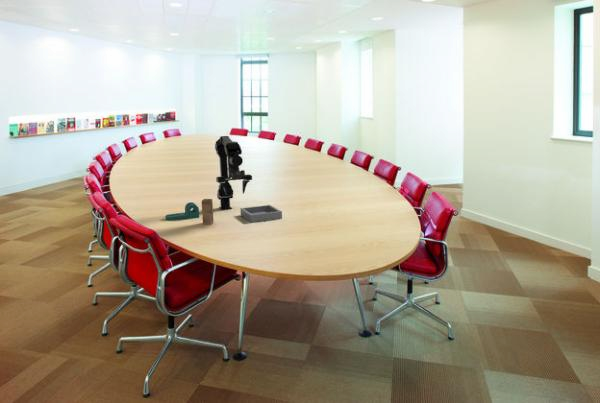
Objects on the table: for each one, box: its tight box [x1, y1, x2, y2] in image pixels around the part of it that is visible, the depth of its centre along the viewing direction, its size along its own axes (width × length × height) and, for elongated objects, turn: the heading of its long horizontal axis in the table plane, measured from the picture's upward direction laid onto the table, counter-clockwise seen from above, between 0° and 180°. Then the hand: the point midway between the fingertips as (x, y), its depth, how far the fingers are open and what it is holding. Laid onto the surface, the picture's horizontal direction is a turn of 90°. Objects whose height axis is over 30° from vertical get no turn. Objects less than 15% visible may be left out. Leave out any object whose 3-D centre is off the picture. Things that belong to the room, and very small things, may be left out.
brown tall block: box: [201, 198, 215, 226], centre depth 256 cm, size 4×4×13 cm
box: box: [239, 204, 283, 224], centre depth 270 cm, size 18×18×4 cm
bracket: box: [164, 201, 200, 222], centre depth 270 cm, size 18×7×8 cm, turn 112°
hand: (235, 194), depth 262 cm, fingers open, 9 cm apart
